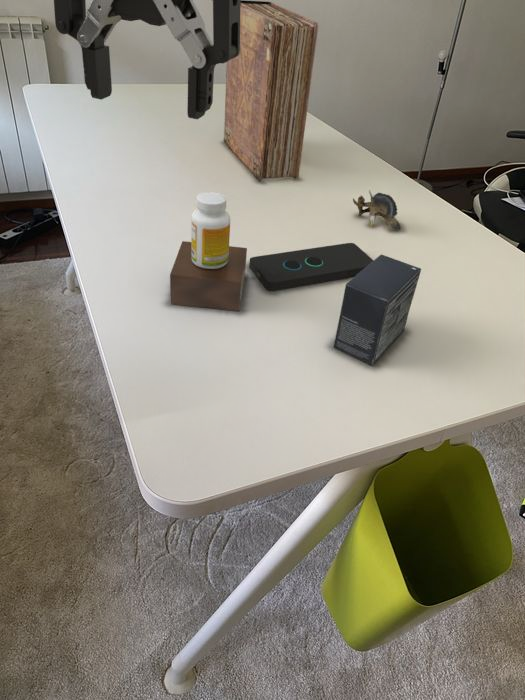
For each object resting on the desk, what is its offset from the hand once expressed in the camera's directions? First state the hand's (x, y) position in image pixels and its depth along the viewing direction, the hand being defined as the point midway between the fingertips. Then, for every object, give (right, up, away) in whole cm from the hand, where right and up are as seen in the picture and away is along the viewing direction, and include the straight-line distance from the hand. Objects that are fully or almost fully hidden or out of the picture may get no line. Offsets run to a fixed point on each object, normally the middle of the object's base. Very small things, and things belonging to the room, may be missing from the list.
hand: (148, 106), depth 45 cm
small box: (+24, -19, +32) cm, 44 cm away
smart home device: (+18, -7, +46) cm, 50 cm away
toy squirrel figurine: (+31, +5, +62) cm, 70 cm away
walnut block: (+1, -11, +39) cm, 40 cm away
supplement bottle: (+2, -7, +35) cm, 36 cm away
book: (+8, +24, +83) cm, 87 cm away
